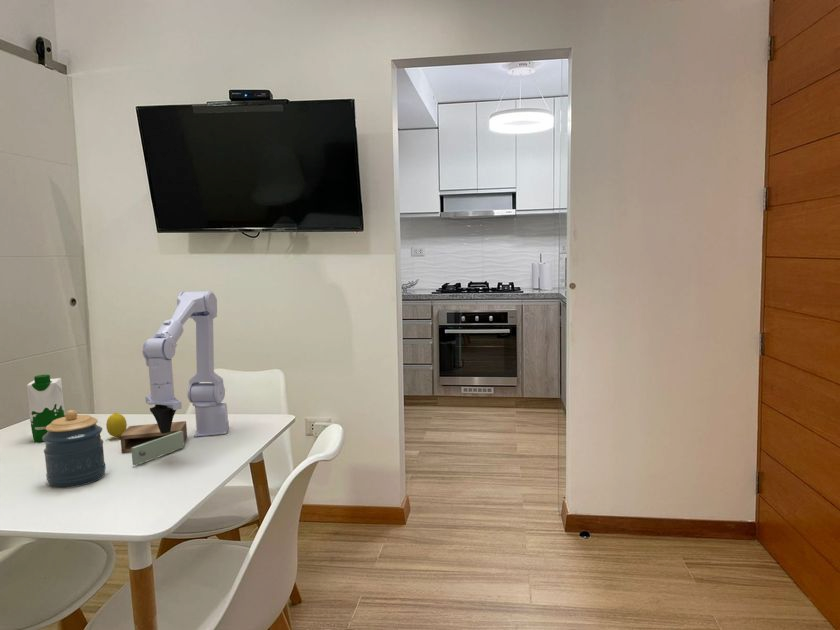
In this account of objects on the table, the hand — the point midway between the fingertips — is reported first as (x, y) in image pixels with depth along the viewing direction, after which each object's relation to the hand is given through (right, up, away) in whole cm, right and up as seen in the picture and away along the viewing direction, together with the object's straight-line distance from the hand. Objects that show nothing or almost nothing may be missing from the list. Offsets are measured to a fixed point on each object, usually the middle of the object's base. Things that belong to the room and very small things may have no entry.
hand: (165, 432), depth 162 cm
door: (-3, -7, +4) cm, 8 cm away
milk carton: (-46, -7, +25) cm, 53 cm away
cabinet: (-9, -7, +15) cm, 18 cm away
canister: (-18, -10, -11) cm, 23 cm away
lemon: (-24, -6, +22) cm, 34 cm away
